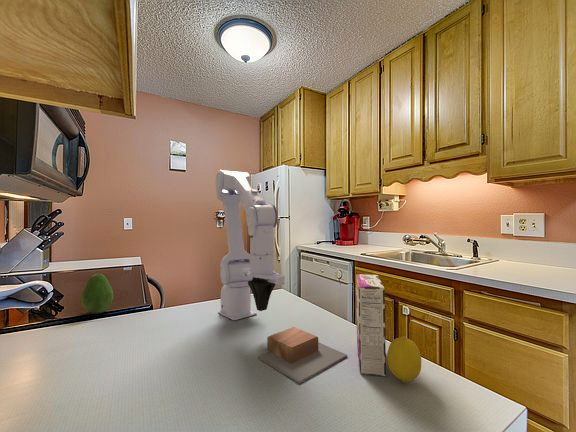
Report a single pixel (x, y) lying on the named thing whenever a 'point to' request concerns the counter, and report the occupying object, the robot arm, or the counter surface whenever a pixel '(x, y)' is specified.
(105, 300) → the avocado
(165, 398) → the counter surface
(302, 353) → the wooden block
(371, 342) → the candy bar box
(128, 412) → the counter surface
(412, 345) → the lemon
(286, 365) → the mat
